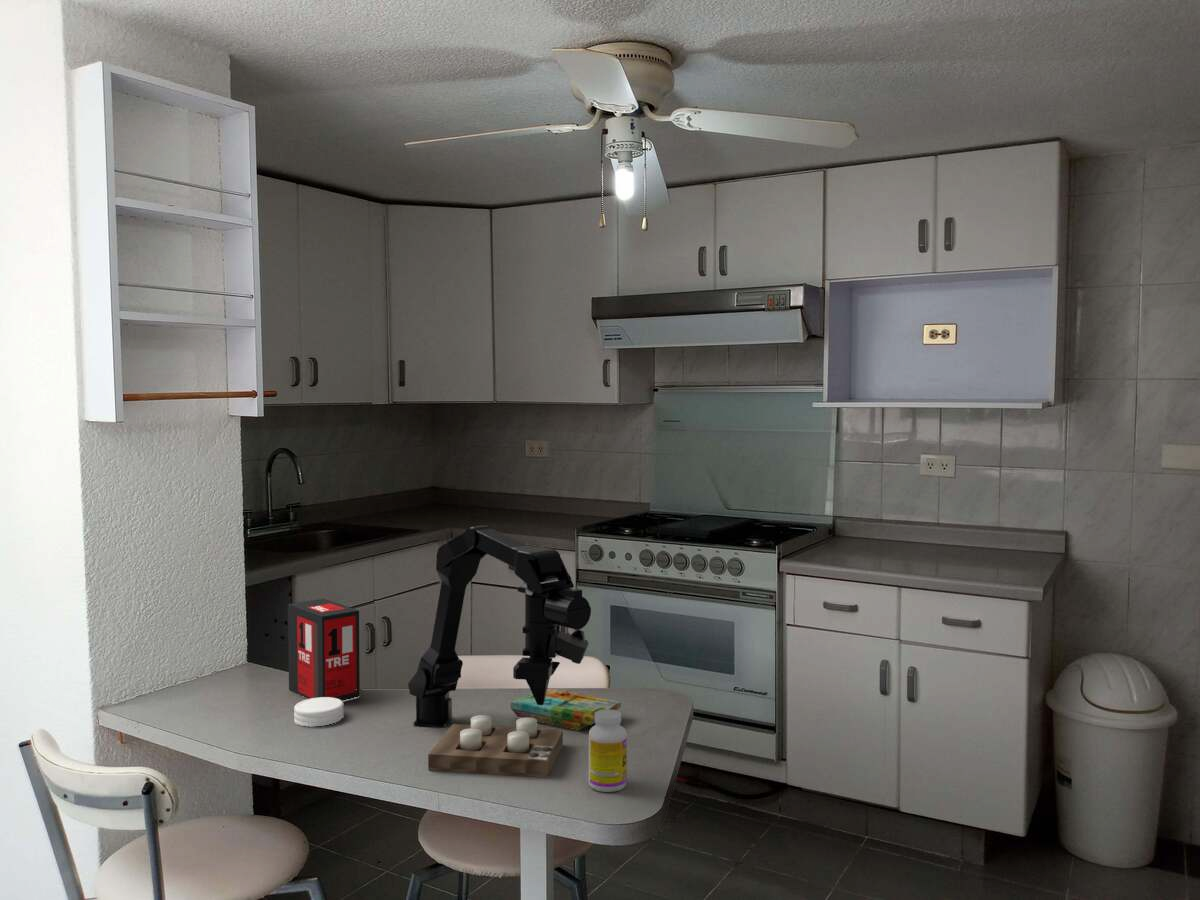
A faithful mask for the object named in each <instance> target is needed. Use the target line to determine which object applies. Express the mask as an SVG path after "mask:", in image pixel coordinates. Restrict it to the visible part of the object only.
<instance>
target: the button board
mask: <svg viewBox="0 0 1200 900" xmlns="http://www.w3.org/2000/svg"><path fill="white" fill-rule="evenodd" d="M470 728H471V724H458V723H453V724H452V725H451V726H450V727H449V728H448V730H447V731H446V732H445V733H444V735H443V736H442V737H441V738H440V739H439V740H438V741H437V743H436V744H435V745H434V746H433V747H432V749H431V750H430V751H429V752H428V755H427V760H428V762H427V763H428V764H427V765H428V766H427V769H428V771H435V772H436V771H437V772H450V773H451V772H452V773H465V774H466V773H470V774H485V775H500V776H517V777H534V778H535V777H537V778H549V776H550V774H551V772H552V769H553V767H554V765H555V763H556V760H557V759H558V756H559V754H560V752H561V750H562V748H563V745H564V744H563V743H564V729H557V728H556V729H555V728H541V727H540V728H538V727H537V736H536V737H533V738H529V750H528V751H527V752H524V753H512V752H509V751H508V750H507V739H508V733H510V732H513V731H516V727H515V726H501V725H500V726H499V725H498V726H496V725H492V732H491V734H489V735H486V736H482V747H481V748H480V749H477V750H463V749H461V748H460V732H461V731H462V730H464V729H470Z"/></svg>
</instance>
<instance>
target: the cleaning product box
mask: <svg viewBox="0 0 1200 900" xmlns="http://www.w3.org/2000/svg"><path fill="white" fill-rule="evenodd" d="M287 631H288V632H287V636H288V637H287V639H288V640H287V643H288V648H287V649H288V690H289V691H290V692H291V693H295V694H296V695H298V694H299V695H298V696H300V695H301V696H300V697H302V696H304V697H306V698H308V699H311V698H319V697H331V698H337V699H340V700H341V701H342V700H346V699H351V698H354V697H358V696H360V697H361V695H360V694H361V690H360V687H361V686H360V684H361V683H360V680H361V679H360V676H361V675H360V674H361V673H360V611H359V609H356V608H353V607H350V606H348V605H344V604H340V603H338V602H336V601H331V600H330V599H329V600H328V599H326V598H320V599H313V600H307V601H306V600H305V601H299V602H293V603H288V604H287ZM356 689H357V690H356ZM304 697H303V698H304ZM306 698H305V699H306Z"/></svg>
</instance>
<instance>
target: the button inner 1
mask: <svg viewBox="0 0 1200 900" xmlns="http://www.w3.org/2000/svg"><path fill="white" fill-rule="evenodd" d="M492 719H493V718H492V717H491V716H490V715H485V714H479V715H474V716H472V717H471V718H470V725H471V728H474V729H479V730H481V731H482V736H486V735H489V734H491V732H492V726H493V725H492V724H493V722H492V721H493V720H492Z"/></svg>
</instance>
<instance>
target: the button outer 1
mask: <svg viewBox="0 0 1200 900" xmlns="http://www.w3.org/2000/svg"><path fill="white" fill-rule="evenodd" d="M481 747H482V731H481V730H479V729H474V728H470V729H464V730H462V731H461V732H460V748H461V749H463V750H477V749H480V748H481Z"/></svg>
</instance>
